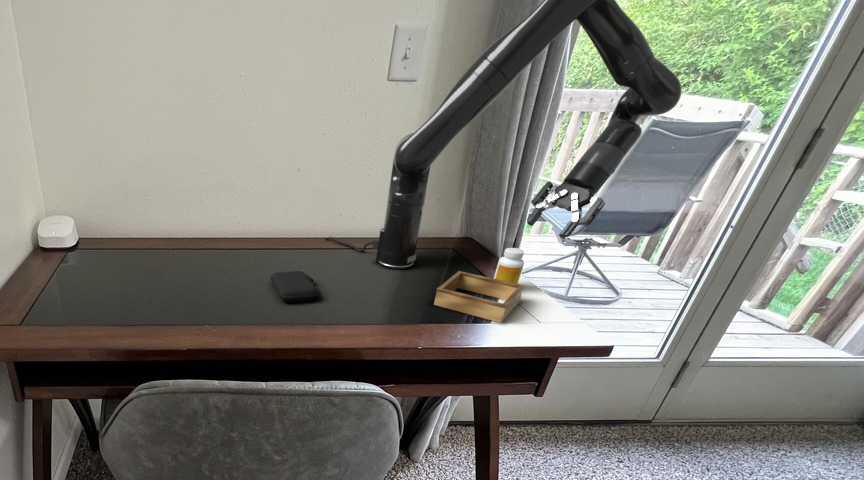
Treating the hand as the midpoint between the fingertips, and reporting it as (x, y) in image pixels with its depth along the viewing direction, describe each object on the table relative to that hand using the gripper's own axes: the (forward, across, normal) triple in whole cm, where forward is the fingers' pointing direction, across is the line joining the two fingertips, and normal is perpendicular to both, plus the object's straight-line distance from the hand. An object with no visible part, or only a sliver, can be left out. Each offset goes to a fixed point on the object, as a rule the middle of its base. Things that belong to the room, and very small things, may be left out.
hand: (544, 230), depth 116 cm
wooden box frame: (+22, +5, -14) cm, 27 cm away
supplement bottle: (+16, +2, -3) cm, 17 cm away
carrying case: (+42, -22, -40) cm, 62 cm away
